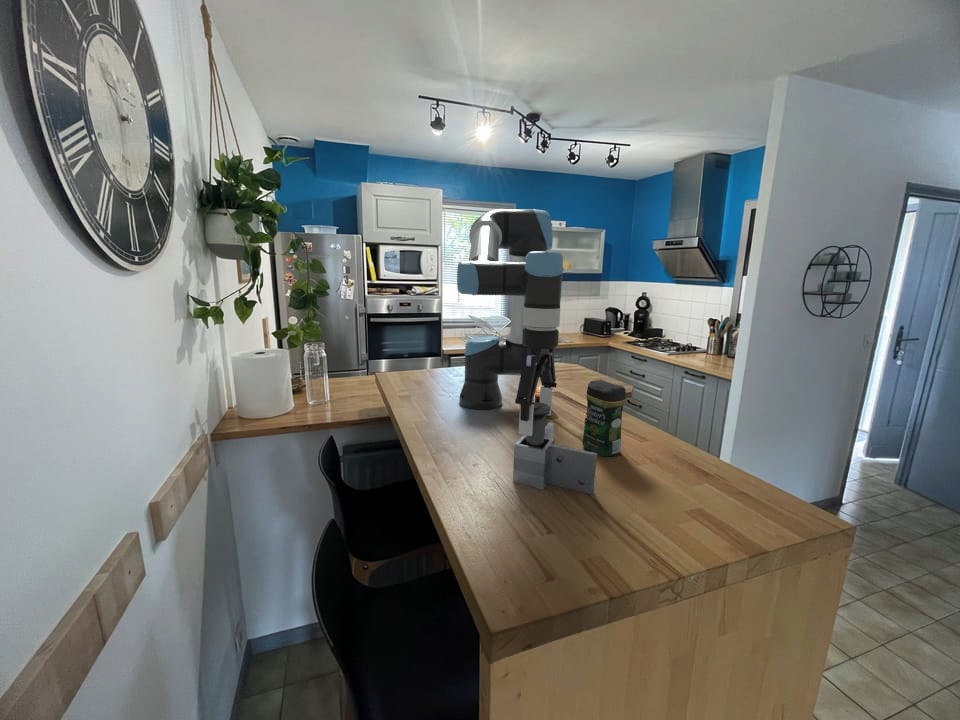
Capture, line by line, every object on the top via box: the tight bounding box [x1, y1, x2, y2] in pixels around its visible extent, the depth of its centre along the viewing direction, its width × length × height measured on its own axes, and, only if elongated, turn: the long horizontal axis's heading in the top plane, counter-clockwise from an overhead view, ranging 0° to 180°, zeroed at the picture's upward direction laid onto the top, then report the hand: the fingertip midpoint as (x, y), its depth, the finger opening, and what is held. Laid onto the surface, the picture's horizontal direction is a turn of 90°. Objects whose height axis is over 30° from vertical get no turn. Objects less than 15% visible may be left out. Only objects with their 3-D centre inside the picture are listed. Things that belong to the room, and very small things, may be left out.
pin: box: [526, 402, 550, 449], centre depth 92 cm, size 6×6×17 cm
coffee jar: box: [581, 379, 627, 457], centre depth 108 cm, size 10×8×19 cm
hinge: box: [512, 421, 598, 496], centre depth 95 cm, size 17×17×9 cm
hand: (535, 423), depth 91 cm, fingers open, 13 cm apart
